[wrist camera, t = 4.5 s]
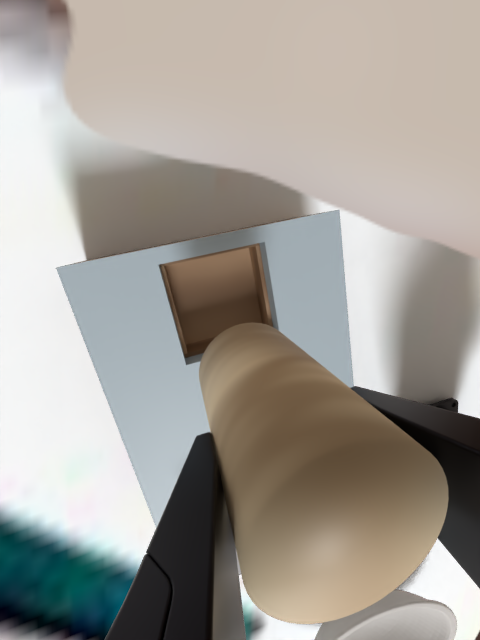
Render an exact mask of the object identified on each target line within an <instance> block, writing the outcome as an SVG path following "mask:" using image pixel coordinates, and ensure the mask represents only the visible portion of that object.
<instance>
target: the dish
mask: <svg viewBox="0 0 480 640" xmlns="http://www.w3.org/2000/svg"><path fill="white" fill-rule="evenodd" d="M456 630H457V620H456V617H455V615H454V613H453V612H452V610H451V609H450V608H449V607H447V606H446V605H445V604H443V603H441V602H438V601H434V600H427V599H425V598H423V597H420V596H418V595H415V594H413V593H410V592H406V591H402V590H397V589H395V590H393V591H392V592H391V593H389V594H388V595H386V596H385V597H384V598H382V599H381V600H379V601H377V602H376V603H374V604H372V605H371V606H369V607H367V608H365V609H363V610H361V611H359V612H356V613H354V614H352V615H349V616H346V617H343V618H340V619H337V620H333V621H328V622H324V623H323V624H322V625H321V627H320V629H319V631H318V633H317V635H316V638H315V640H454V637H455V634H456Z"/></svg>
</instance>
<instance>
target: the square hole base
mask: <svg viewBox="0 0 480 640" xmlns="http://www.w3.org/2000/svg"><path fill="white" fill-rule="evenodd" d="M324 213H325V212H324ZM318 214H320V213H318ZM313 215H315V214H313ZM307 216H310V215H307ZM302 217H305V216H302ZM296 218H300V217H296ZM292 219H295V218H292ZM287 220H290V219H287ZM282 221H286V220H282ZM277 222H281V221H277ZM272 223H276V222H272ZM267 224H271V223H267ZM262 225H266V224H262ZM257 226H261V225H257ZM252 227H256V226H252ZM248 228H251V227H248ZM243 229H246V228H243ZM238 230H242V229H238ZM233 231H237V230H233ZM228 232H232V231H228ZM223 233H227V232H223ZM218 234H222V233H218ZM213 235H217V234H213ZM208 236H212V235H208ZM203 237H207V236H203ZM203 237H199V238H203ZM194 239H198V238H194ZM189 240H193V239H189ZM184 241H188V240H184ZM179 242H183V241H179ZM174 243H178V242H174ZM169 244H173V243H169ZM164 245H168V244H164ZM159 246H163V245H159ZM159 246H155V247H159ZM150 248H154V247H150ZM145 249H149V248H145ZM140 250H144V249H140ZM135 251H139V250H135ZM130 252H134V251H130ZM125 253H129V252H125ZM120 254H124V253H120ZM120 254H115V255H120ZM115 255H111V256H115ZM106 257H110V256H106ZM101 258H105V257H101ZM96 259H100V258H96ZM91 260H95V259H91ZM86 261H90V260H86ZM82 262H85V261H82ZM78 263H80V262H78ZM74 264H76V263H74ZM70 265H71V264H70ZM159 265H160V269H161V272H162V276H163V280H164V283H165V287H166V291H167V294H168V298H169V301H170V305H171V309H172V312H173V316H174V320H175V323H176V327H177V331H178V334H179V338H180V341H181V345H182V349H183V352H184V356H185V358H188V357H191V356H195V355H198V354H202V353H204V352H205V350H206V348H207V347H208V346H209V344H210V343H211V342H212V341H213V340H214V339H215V337H217V336H218V335H219V334H220V333H222V332H223V331H225V330H226V329H228V328H230V327H233V326H235V325H239V324H243V323H262V324H266V325H269V326H272V327H273V323H272V317H271V311H270V305H269V299H268V293H267V287H266V281H265V275H264V269H263V263H262V257H261V251H260V245H259V243H257V244H252V245H248V246H243V247H238V248H234V249H229V250H224V251H220V252H215V253H211V254H206V255H201V256H197V257H192V258H187V259H183V260H178V261H173V262H169V263H164V264H159ZM65 266H66V265H65Z"/></svg>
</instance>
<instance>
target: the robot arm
mask: <svg viewBox="0 0 480 640" xmlns="http://www.w3.org/2000/svg"><path fill="white" fill-rule="evenodd" d="M351 389H352V390H353V391H354V392H356V393H357V394H358V395H359V396H361V397H362V398H363V399H364V400H366V401H367V402H368V403H369V404H371V405H372V406H373V407H374V408H376V409H377V410H378V411H379V412H380V413H382V414H383V415H384V416H385V417H387V418H388V419H389V420H390V421H392V422H393V423H394V424H395V425H397V426H398V427H399V428H400V429H402V430H403V431H404V432H405V433H407V434H408V435H409V436H410V437H412V438H413V439H414V440H415V441H416V442H418V443H419V444H420V445H421V446H423V447H424V448H425V449H426V450H428V451H429V452H430V453H431V454H432V455H433V456H434V457H435V458H436V459H437V460H438V462H439V463H440V465H441V467H442V468H443V471H444V473H445V476H446V479H447V484H448V498H449V499H448V508H447V513H446V517H445V521H444V523H443V526H442V529H441V531H440V534H439V536H438V539H439V540H440V542H441V543H442V544H443V545H444V546H445V548H446V549H447V550H448V551H449V552H450V554H451V555H452V556H453V557H454V558H455V560H456V561H457V562H458V563H459V564H460V566H461V567H462V568H463V569H464V570H465V571H466V573H467V574H468V575H469V576H470V577H471V579H472V580H473V581H474V582H475V583H476V585H477V586H478V587H479V588H480V419H479V418H475V417H472V416H468V415H464V414H460V413H458V401H457V400H455V399H453V398H449V399H446V400H443V401H441V402H438V403H435V404H432V405H426V404H422V403H418V402H414V401H411V400H407V399H403V398H399V397H395V396H391V395H388V394H384V393H380V392H376V391H372V390H369V389H365V388H361V387H357V386H354V387H351ZM146 553H147V554H146V555H145V556H144V558H143V560H142V562H141V565H140V567H139V569H138V572H137V574H136V576H135V578H134V581H133V583H132V585H131V587H130V589H129V591H128V594H127V596H126V598H125V600H124V602H123V604H122V607H121V608H120V610H119V612H118V614H117V616H116V618H115V620H114V622H113V624H112V626H111V628H110V630H109V632H108V634H107V636H106V638H105V640H246V635H245V626H244V617H243V609H242V600H241V592H240V583H239V574H238V566H237V557H236V549H235V542H234V537H233V533H232V528H231V524H230V519H229V514H228V510H227V505H226V501H225V496H224V491H223V486H222V481H221V475H220V470H219V465H218V460H217V456H216V451H215V447H214V442H213V438H212V434H211V432H207V433H203V434H200V435H197V436H196V438H195V440H194V442H193V444H192V447H191V449H190V451H189V454H188V456H187V458H186V461H185V463H184V465H183V468H182V470H181V472H180V475H179V477H178V479H177V482H176V484H175V486H174V489H173V491H172V493H171V496H170V498H169V500H168V503H167V505H166V507H165V509H164V512H163V514H162V516H161V519H160V521H159V523H158V526H157V528H156V530H155V533H154V535H153V537H152V540H151V542H150V544H149V547H148V549H147V552H146Z"/></svg>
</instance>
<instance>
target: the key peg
mask: <svg viewBox="0 0 480 640" xmlns="http://www.w3.org/2000/svg"><path fill="white" fill-rule="evenodd" d="M199 381H200V386H201V391H202V395H203V400H204V404H205V409H206V413H207V418H208V423H209V427H210V432H211V434H212V438H213V442H214V447H215V451H216V456H217V460H218V465H219V470H220V475H221V481H222V486H223V491H224V496H225V501H226V505H227V510H228V514H229V519H230V524H231V528H232V533H233V537H234V542H235V547H236V551H237V556H238V560H239V565H240V570H241V574H242V579H243V583H244V586H245V588H246V591H247V593H248V595H249V597H250V598H251V600H252V601H253V603H254V604H255V605H256V606H257V607H258V608H259V609H260V610H262V611H263V612H265V613H266V614H267V615H269V616H271V617H273V618H276V619H278V620H281V621H285V622H289V623H296V624H315V623H324V622H328V621H333V620H337V619H340V618H343V617H346V616H349V615H352V614H354V613H356V612H359V611H361V610H363V609H365V608H367V607H369V606H371V605H372V604H374V603H376V602H377V601H379V600H381V599H382V598H384V597H385V596H386V595H388V594H389V593H391V592H392V591H393V590H395V589H396V588H397V587H398V586H399V585H400V584H402V583H403V582H404V581H405V580H406V579H407V578H408V577H409V576H410V575H411V574H412V573H413V572H414V571H415V570H416V569H417V567H418V566H419V565H420V564H421V563H422V561H423V560H424V559H425V557H426V556H427V555H428V553H429V552H430V550H431V548H432V547H433V545H434V543H435V542H436V540H437V538H438V536H439V534H440V531H441V529H442V526H443V523H444V521H445V517H446V513H447V508H448V499H449V498H448V484H447V479H446V476H445V473H444V471H443V468H442V467H441V465H440V463H439V462H438V460H437V459H436V458H435V457H434V456H433V455H432V454H431V453H430V452H429V451H428V450H426V449H425V448H424V447H423V446H421V445H420V444H419V443H418V442H416V441H415V440H414V439H413V438H412V437H410V436H409V435H408V434H407V433H405V432H404V431H403V430H402V429H400V428H399V427H398V426H397V425H395V424H394V423H393V422H392V421H390V420H389V419H388V418H387V417H385V416H384V415H383V414H382V413H380V412H379V411H378V410H377V409H376V408H374V407H373V406H372V405H371V404H369V403H368V402H367V401H366V400H364V399H363V398H362V397H361V396H359V395H358V394H357V393H356V392H354V391H353V390H352V389H351V388H349V387H348V386H347V385H346V384H344V383H343V382H342V381H341V380H340V379H338V378H337V377H336V376H335V375H333V374H332V373H331V372H330V371H328V370H327V369H326V368H325V367H323V366H322V365H321V364H320V363H318V362H317V361H316V360H315V359H313V358H312V357H311V356H310V355H308V354H307V353H306V352H305V351H304V350H302V349H301V348H300V347H299V346H297V345H296V344H295V343H294V342H292V341H291V340H290V339H289V338H287V337H286V336H285V335H284V334H282V333H281V332H280V331H278V330H277V329H275V328H273V327H272V326H269V325H266V324H262V323H243V324H239V325H235V326H233V327H230V328H228V329H226V330H225V331H223V332H222V333H220V334H219V335H218V336H217V337H215V339H214V340H213V341H212V342H211V343H210V344H209V346H208V347H207V348H206V350H205V352H204V354H203V356H202V359H201V362H200V367H199Z"/></svg>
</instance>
